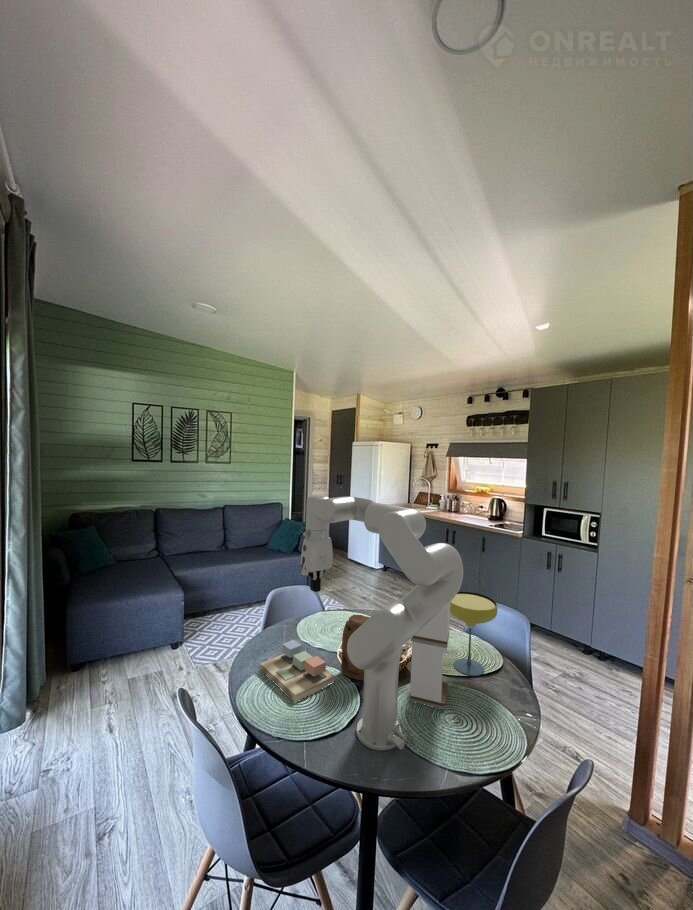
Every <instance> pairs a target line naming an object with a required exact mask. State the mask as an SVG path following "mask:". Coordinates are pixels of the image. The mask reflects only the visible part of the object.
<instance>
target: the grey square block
mask: <svg viewBox="0 0 693 910" xmlns="http://www.w3.org/2000/svg"><path fill="white" fill-rule="evenodd" d="M302 649H303V648H302V644H301V643H299V642H298V641H296V640H295V639H291V640H289V641H286V642H284V643H282V648H281V652H282V653H283V654H285V655H287V656H288V657H289V658H291V657H293V655H296V654H298V653H301V651H302Z"/></svg>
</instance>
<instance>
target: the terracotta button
mask: <svg viewBox="0 0 693 910" xmlns="http://www.w3.org/2000/svg"><path fill="white" fill-rule="evenodd" d="M326 667H327V662H326V661H325V660H323V659H322V658H320V657H319V656H318V655H315V656H313V658H310V659H308V660H306V661H305V670H306V671H307V672H308V673H310V674H311V675H312V676H313V677H314V676H316V675H318V674H320V673H322V672H325V671H326V670H327V669H326Z"/></svg>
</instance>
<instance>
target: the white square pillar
mask: <svg viewBox="0 0 693 910" xmlns="http://www.w3.org/2000/svg"><path fill="white" fill-rule="evenodd" d="M450 617H451V613H450V603H449V604H448V605H447V606H446V607H445V608H444V609H443V610H442V611H441V612H440V613H438V614H437V615H436V616H435V617H434V618H433V619H432V620H430V621H429V622H428V623H427V624H426V625H425V626H423V627H422V628H421V629H420V630H419V632H418V633H417V634H416V635H415V636H413V637H412V638H411V664H410V665H411V666H410V688H409V689H410V690H409V692H410V693H409V702H410V701H411V702H410V703H413V702H414V703H413V704H416V703H420V704H425V705H429V706H433V707H436V708H441V709H445V708H446V702H445V701H447V693H446V692H448V682H446V681H443V665H444V664H443V663H445V654H447V653H448V646H449V637H450V622H451V621H450V619H451V618H450ZM415 702H416V703H415ZM420 704H419V705H420ZM436 708H435V709H436ZM445 710H446V709H445Z"/></svg>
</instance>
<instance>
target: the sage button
mask: <svg viewBox="0 0 693 910" xmlns="http://www.w3.org/2000/svg"><path fill="white" fill-rule="evenodd" d="M313 657H314V656H312V655H311V654H310V653H309V652H307V651H306V650H303V651H302V652H301V653H298V654H296V655H293V665H295V666H296V667H297V668H298V669H300V670H304V669H305V661H306V660H308V659H310V658H313Z"/></svg>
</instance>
